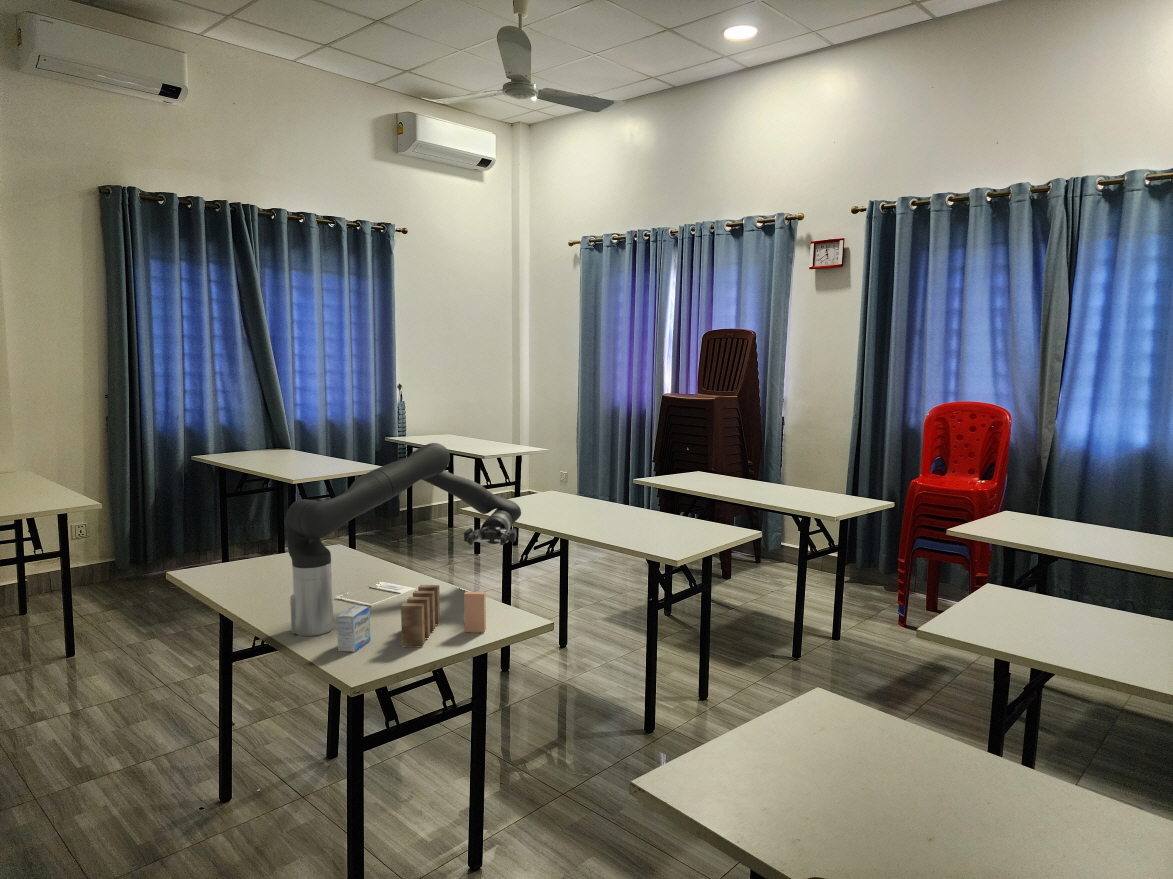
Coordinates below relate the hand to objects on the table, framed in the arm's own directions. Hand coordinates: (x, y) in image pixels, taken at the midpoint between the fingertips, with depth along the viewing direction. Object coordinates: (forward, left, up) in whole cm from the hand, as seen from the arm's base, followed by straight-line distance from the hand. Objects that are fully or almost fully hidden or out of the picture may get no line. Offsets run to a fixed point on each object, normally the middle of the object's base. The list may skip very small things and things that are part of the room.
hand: (486, 541), depth 202 cm
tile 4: (-13, -21, -19) cm, 31 cm away
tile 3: (-13, -16, -19) cm, 28 cm away
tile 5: (-13, -26, -19) cm, 35 cm away
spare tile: (0, -16, -19) cm, 25 cm away
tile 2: (-13, -11, -19) cm, 26 cm away
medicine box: (-27, -27, -19) cm, 43 cm away
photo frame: (-35, +13, -20) cm, 42 cm away
